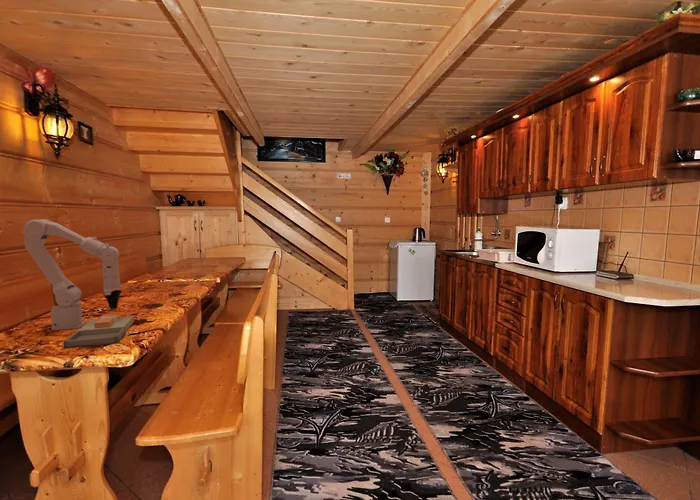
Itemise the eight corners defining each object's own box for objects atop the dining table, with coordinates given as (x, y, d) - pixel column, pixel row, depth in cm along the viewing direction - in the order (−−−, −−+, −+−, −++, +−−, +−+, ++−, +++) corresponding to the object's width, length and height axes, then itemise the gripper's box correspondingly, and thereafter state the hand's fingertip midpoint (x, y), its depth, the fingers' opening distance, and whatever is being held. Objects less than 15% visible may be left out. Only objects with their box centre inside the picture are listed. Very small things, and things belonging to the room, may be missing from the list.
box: (63, 348, 127) (63, 341, 127) (76, 337, 137) (75, 331, 137) (117, 343, 132) (117, 336, 132) (125, 333, 142) (125, 327, 142)
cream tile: (99, 324, 146) (98, 319, 145) (103, 320, 150) (103, 315, 150) (114, 322, 147) (113, 317, 147) (117, 319, 152) (117, 314, 152)
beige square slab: (77, 337, 138) (77, 330, 137) (91, 325, 152) (91, 319, 152) (124, 333, 142) (123, 326, 142) (133, 322, 156) (133, 316, 156)
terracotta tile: (94, 328, 140) (94, 323, 140) (98, 324, 145) (98, 319, 145) (109, 327, 142) (109, 321, 142) (113, 323, 147) (113, 318, 146)
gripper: (117, 278, 148) (120, 312, 150) (126, 273, 162) (129, 303, 163) (97, 279, 146) (99, 313, 148) (108, 273, 160) (110, 305, 161)
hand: (113, 308), depth 155 cm, fingers closed
